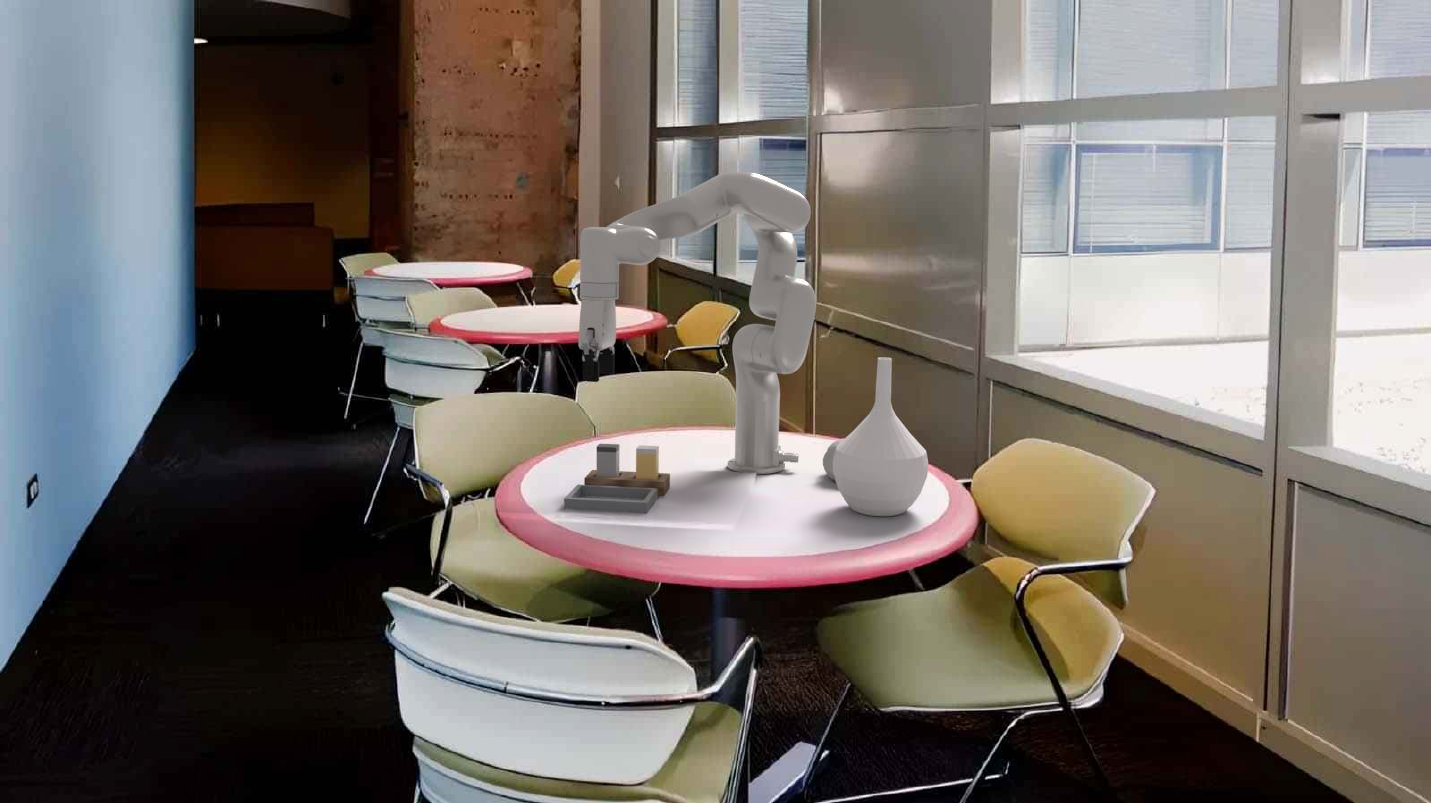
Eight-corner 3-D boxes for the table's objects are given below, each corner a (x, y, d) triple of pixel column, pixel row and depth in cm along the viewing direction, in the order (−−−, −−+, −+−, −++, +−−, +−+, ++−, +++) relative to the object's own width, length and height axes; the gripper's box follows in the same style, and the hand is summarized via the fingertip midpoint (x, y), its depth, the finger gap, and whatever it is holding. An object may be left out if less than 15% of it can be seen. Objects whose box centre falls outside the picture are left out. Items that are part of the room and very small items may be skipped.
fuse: (658, 489, 264) (658, 446, 262) (655, 493, 261) (656, 449, 259) (638, 488, 264) (639, 445, 263) (635, 492, 261) (636, 448, 260)
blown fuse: (619, 488, 265) (619, 444, 263) (616, 491, 262) (616, 447, 260) (599, 487, 265) (599, 443, 264) (596, 490, 262) (596, 446, 261)
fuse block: (669, 492, 266) (669, 473, 265) (663, 501, 259) (664, 481, 258) (592, 488, 268) (592, 469, 267) (584, 497, 261) (584, 477, 260)
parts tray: (657, 503, 258) (657, 488, 257) (647, 518, 247) (647, 502, 246) (577, 499, 260) (577, 484, 259) (564, 513, 249) (564, 498, 248)
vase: (833, 521, 247) (838, 364, 242) (829, 496, 265) (834, 350, 260) (931, 524, 246) (938, 367, 241) (921, 499, 264) (928, 352, 259)
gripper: (595, 286, 265) (594, 370, 269) (566, 294, 249) (565, 383, 252) (630, 288, 264) (629, 372, 267) (604, 296, 247) (603, 385, 250)
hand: (598, 377), depth 259 cm, fingers open, 9 cm apart
